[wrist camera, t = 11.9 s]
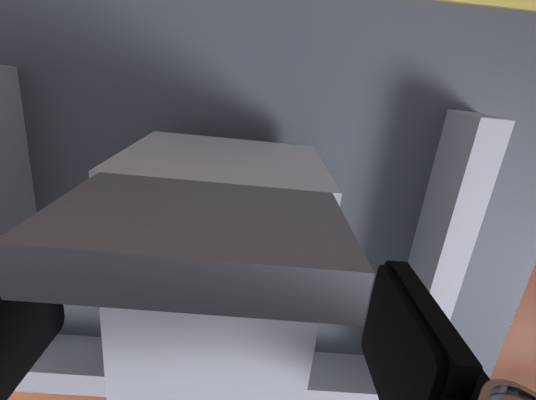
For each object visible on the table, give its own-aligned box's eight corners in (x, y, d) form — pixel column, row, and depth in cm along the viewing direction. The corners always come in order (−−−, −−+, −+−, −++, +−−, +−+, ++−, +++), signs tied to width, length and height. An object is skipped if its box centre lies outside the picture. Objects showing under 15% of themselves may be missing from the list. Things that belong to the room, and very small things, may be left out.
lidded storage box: (162, 125, 12) (-28, 240, 4) (310, 139, 12) (390, 274, 4) (163, 320, 15) (49, 611, 7) (284, 329, 15) (305, 620, 7)
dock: (-95, -87, 13) (-308, -176, 8) (572, -11, 14) (734, -50, 9) (-15, 300, 18) (-112, 383, 13) (455, 334, 19) (517, 422, 14)
